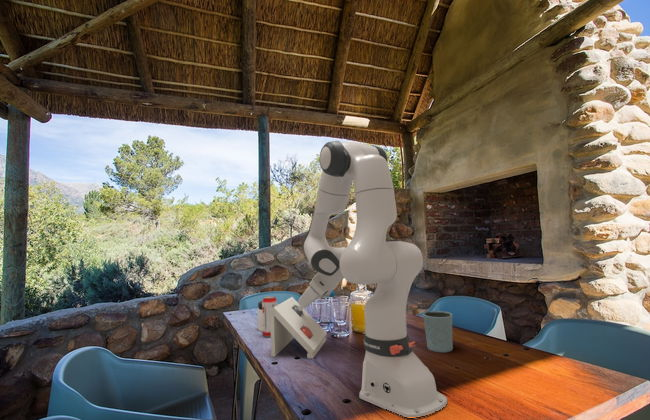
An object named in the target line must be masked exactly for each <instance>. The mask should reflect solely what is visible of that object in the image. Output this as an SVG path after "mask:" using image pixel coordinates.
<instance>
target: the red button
mask: <svg viewBox="0 0 650 420" xmlns="http://www.w3.org/2000/svg"><path fill="white" fill-rule="evenodd" d="M300 330H301V331H302V332H303V333H304V334H305V335H306V336H307V337H308V338H310V336H311V335H312V332H311V330H310V329H309V328H308V327H306V326H304V327H303V328H302V329H300Z"/></svg>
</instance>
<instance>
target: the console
mask: <svg viewBox="0 0 650 420" xmlns="http://www.w3.org/2000/svg"><path fill="white" fill-rule="evenodd" d="M295 306H300V305H299V304H298V300H295V298H294V297H293V296H291V297H289V298H288V299H286V300H284V301H282V302H281V303H279V304H277V306H275V307H274V308H273V309H272V310H271V311H270V323H271V337H270V353H271V355H270V357H274V358H275V357H276V356H277V355H278V354H279V353H280V352H281V351H282V350H284V348H285V347H286V346H287V345H289V343H291V342H292V341H293V340H294V339H295V340H296V341H297V342H298V344H300V345H301V346H302V347H303V349H305V350H306V352H307V354H306V357H307V358H306V359H314V358H315V356H316V355H317V354H318V352H319V351H320V350H321V348H322V347H323V345H324V344H325V343H326V341H327V334H328V333H327V331H326V330H325V329H324V328H323V327H321V325H320V324H319V322H317V321H316V320H315V318H313V317H312V316H311V315H310V314H309V312H307V311H306V310H305V309H303V310H302V311H303V314H302V315H301V316H299V315H298V314H297V313H296V312H295V311H294V310H293V308H294V307H295ZM304 326H306V327H308V328H309V329H310V330H311V332H312V335H311V336H310V338H308V337H307V336H306V335H305V334H304V333H303V332H302V331H301V329H302V328H303V327H304Z"/></svg>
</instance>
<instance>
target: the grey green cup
mask: <svg viewBox="0 0 650 420" xmlns="http://www.w3.org/2000/svg"><path fill="white" fill-rule="evenodd" d="M422 318H423V323H424V324H423V325H424V332H425V339H426V346H427V350H430V351H432V352H435V353H449V352H452V351H453V349H454V346H453V345H454V343H453V313H451V312H449V311H442V310H441V311H440V310H434V311H433V310H429V311H424V312H423V313H422Z"/></svg>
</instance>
